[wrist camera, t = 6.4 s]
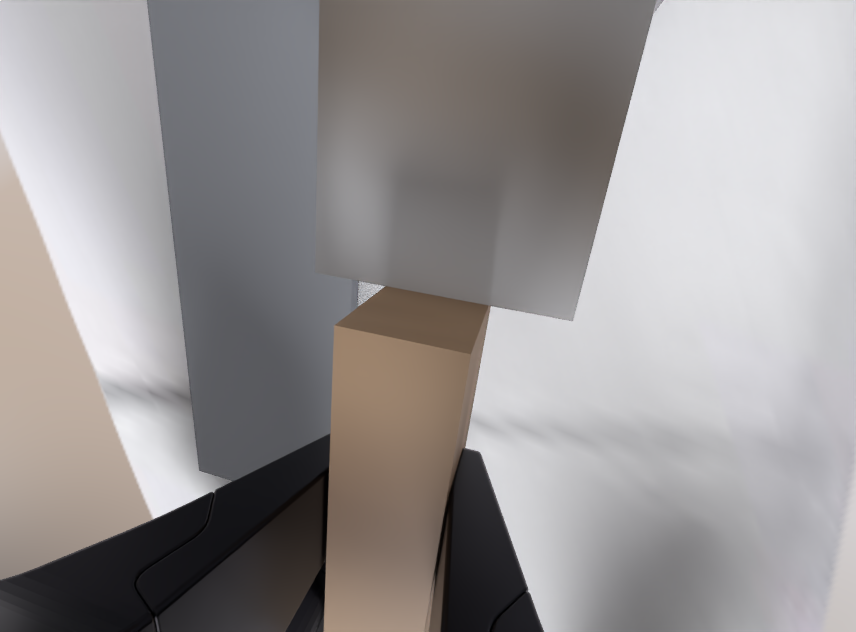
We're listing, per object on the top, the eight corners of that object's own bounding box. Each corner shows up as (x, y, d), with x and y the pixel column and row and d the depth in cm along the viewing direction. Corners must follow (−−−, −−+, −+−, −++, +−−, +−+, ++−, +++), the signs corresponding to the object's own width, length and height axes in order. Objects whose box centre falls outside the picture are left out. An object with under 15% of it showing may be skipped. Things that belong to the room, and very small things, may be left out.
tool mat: (346, 504, 20) (341, 513, 20) (207, 463, 22) (199, 470, 21) (375, -48, 12) (368, -58, 12) (155, -52, 14) (140, -61, 13)
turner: (497, 589, 11) (484, 732, 8) (324, 534, 12) (260, 644, 9) (669, -88, 6) (788, -321, 3) (344, -89, 7) (212, -267, 4)
